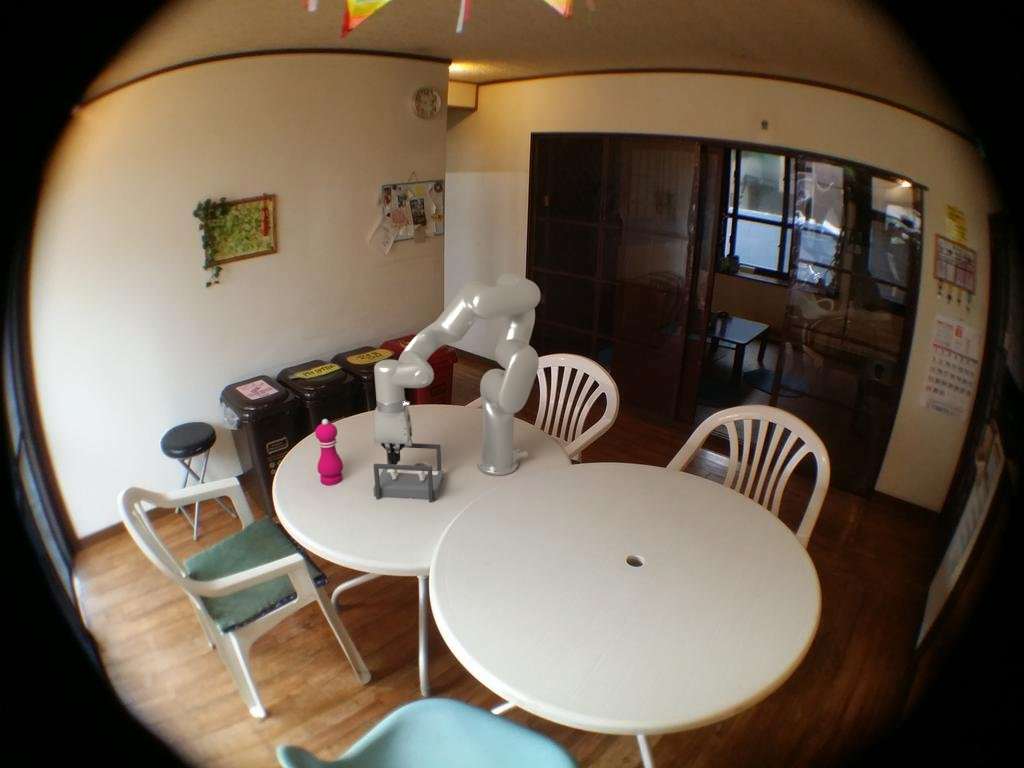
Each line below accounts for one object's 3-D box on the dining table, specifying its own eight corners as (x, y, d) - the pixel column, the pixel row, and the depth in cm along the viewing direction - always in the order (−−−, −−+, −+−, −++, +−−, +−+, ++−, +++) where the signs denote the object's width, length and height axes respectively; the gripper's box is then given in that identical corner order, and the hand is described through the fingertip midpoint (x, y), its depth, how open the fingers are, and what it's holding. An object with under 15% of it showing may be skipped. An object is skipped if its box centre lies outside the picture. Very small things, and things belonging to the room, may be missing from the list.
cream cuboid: (425, 475, 165) (423, 468, 164) (423, 480, 162) (421, 473, 162) (422, 475, 165) (420, 468, 164) (420, 480, 163) (418, 473, 162)
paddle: (398, 473, 165) (396, 466, 164) (396, 478, 163) (393, 471, 162) (395, 474, 166) (392, 467, 165) (392, 479, 163) (390, 472, 162)
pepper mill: (348, 474, 171) (342, 414, 164) (338, 487, 165) (332, 425, 157) (325, 472, 172) (317, 413, 164) (314, 485, 165) (307, 424, 158)
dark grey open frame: (441, 476, 171) (440, 444, 167) (432, 502, 159) (431, 468, 154) (389, 474, 172) (386, 441, 168) (376, 499, 159) (373, 465, 155)
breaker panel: (443, 479, 170) (443, 470, 169) (437, 500, 160) (436, 490, 159) (384, 476, 171) (384, 467, 170) (374, 496, 161) (373, 487, 160)
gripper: (420, 400, 159) (423, 457, 165) (368, 397, 159) (373, 455, 166) (414, 411, 152) (417, 471, 159) (359, 409, 152) (365, 468, 159)
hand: (394, 462), depth 162 cm, fingers closed
